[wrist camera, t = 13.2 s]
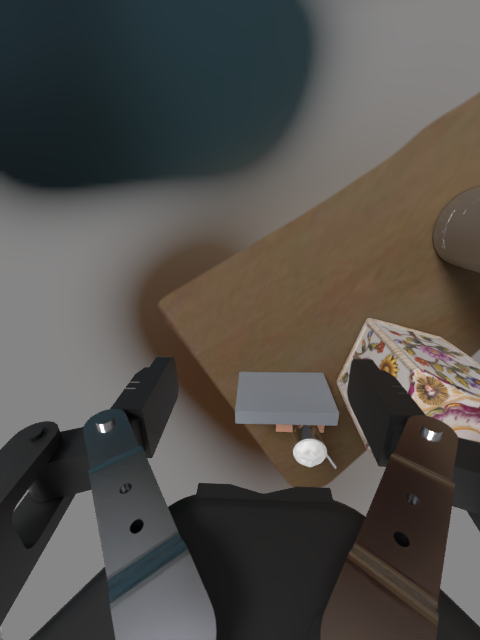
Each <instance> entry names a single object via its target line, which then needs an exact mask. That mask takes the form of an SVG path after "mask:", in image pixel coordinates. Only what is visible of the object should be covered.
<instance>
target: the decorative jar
mask: <svg viewBox="0 0 480 640" xmlns="http://www.w3.org/2000/svg"><path fill="white" fill-rule="evenodd" d="M353 359H372V360H373V361H374V363H375V364H376V365H377V367H378V368H379V369H380V370H385V371H387V372H388V373H390V374H391V375H393V376H394V377H396V379H397V380H398V381H399V382H400V384H401V385H402V387H404V389H405V390H406V391H407V393H408V394H409V395H410V396H411V397H412V399H413V400H414V401H415V402H416V403H417V405H418V406H419V407H420V408H421V410H422V411H423V412H424V413H425V415H426V416H429V417H433V418H435V419H438V420H440V421H442V422H444V423H445V424H447V425H448V426H450V427H451V428H452V429H453V430H454V431H455V433H456V434H457V436H458V437H460V438H463V439H468V440H472V441H476V442H480V364H479V363H477V362H476V361H475V360H473V359H472V358H471V357H469V356H468V355H467V354H465V353H463V352H462V351H461V350H459V349H458V348H457V347H455V346H454V345H452V344H451V343H449V342H448V341H446V340H445V339H443V338H442V337H440V336H435V335H431V334H428V333H425V332H421V331H418V330H414V329H410V328H406V327H403V326H399V325H396V324H392V323H388V322H384V321H380V320H377V319H373V318H367V319H366V321H365V323H364V325H363V327H362V329H361V331H360V333H359V336H358V338H357V340H356V342H355V343H354V346H353V348H352V350H351V352H350V354H349V356H348V358H347V360H346V362H345V364H344V366H343V368H342V370H341V372H340V374H339V376H338V378H337V385H338V388H339V390H340V393H341V395H342V397H343V400H344V402H345V404H346V406H347V409H348V411H349V413H350V415H351V417H352V419H353V421H354V424H355V426H356V428H357V430H358V432H359V434H360V436H361V439H362V441H363V443H364V445H365V447H366V449H367V450H368V451H370V452H371V453H372V451H371V448H370V446H369V444H368V442H367V440H366V438H365V436H364V433H363V431H362V429H361V427H360V425H359V423H358V421H357V418H356V416H355V414H354V412H353V410H352V408H351V406H350V403H349V401H348V395H347V387H348V381H349V374H350V367H351V362H352V360H353Z"/></svg>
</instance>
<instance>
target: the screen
mask: <svg viewBox="0 0 480 640" xmlns="http://www.w3.org/2000/svg"><path fill="white" fill-rule="evenodd" d="M235 418H236V423H242V424H284V425H326V426H337V425H338V418H339V412H338V409H337V407H336V404H335V402H334V399H333V396H332V394H331V391H330V389H329V386H328V384H327V381H326V379H325V376H324V374H323V373H296V372H239V381H238V390H237V399H236V408H235Z"/></svg>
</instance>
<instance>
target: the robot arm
mask: <svg viewBox="0 0 480 640" xmlns="http://www.w3.org/2000/svg"><path fill="white" fill-rule="evenodd" d="M433 242H434V247H435V250H436V252H437V253H438V255H439V256H440V257H441V258H442V259H443V260H444V261H445V262H448V263H450V264H452V265H455V266H459V267H462V268H465V269H469V270H472V271H475V272H478V273H480V187H476V188H472V189H470V190H467V191H465V192H463V193H462V194H460V195H458V196H457V197H455V198H454V199H453V200H452V201H451V202H450V203H449V204H448V205H447V206H446V207H445V208H444V210H443V211H442V212H441V214H440V216H439V218H438V219H437V222H436V225H435V228H434V233H433ZM347 395H348V401H349V403H350V406H351V408H352V410H353V412H354V414H355V416H356V418H357V421H358V423H359V425H360V427H361V429H362V431H363V433H364V436H365V438H366V440H367V442H368V444H369V446H370V448H371V451H372V453H373V455H374V457H375V459H376V461H377V463H378V466H384V467H386V469H385V471H384V474H383V476H382V478H381V481H380V483H379V486H378V488H377V490H376V493H375V495H374V498H373V500H372V503H371V505H370V507H369V510H368V512H367V515H366V517H365V516H364V515H362V514H360V513H359V512H358V511H356V510H355V509H353V508H351V507H349V506H347V505H345V504H343V503H340V502H338V501H335V500H333V498H332V494H331V490H330V488H316V487H294V488H289V489H285V490H280V491H275V492H271V493H266V494H262V493H258V492H254V491H251V490H248V489H245V488H241V487H237V486H234V485H231V484H210V483H199V484H198V489H197V493H196V495H192V496H189V497H186V498H183V499H181V500H179V501H177V502H175V503H174V504H172V505H170V506H169V507H168V506H167V504H166V502H165V499H164V497H163V495H162V492H161V490H160V487H159V485H158V483H157V480H156V478H155V476H154V473H153V471H152V469H151V466H150V464H149V461H148V459H147V458H152V457H153V455H154V452H155V450H156V448H157V445H158V443H159V440H160V438H161V436H162V433H163V431H164V428H165V426H166V423H167V421H168V419H169V416H170V414H171V412H172V409H173V407H174V404H175V402H176V400H177V397H178V379H177V372H176V364H175V359H174V357H156V358H155V360H154V361H153V363H152V364H151V366H150V367H146V368H143V369H142V370H141V371H139V372H138V373H137V374H135V375H134V377H133V378H132V380H131V381H130V383H129V384H128V385H127V386H126V389H124V391H123V392H122V393H121V395H120V396H119V397H118V399H117V400H116V402H115V403H114V404H113V406H112V407H111V409H108V410H104V411H101V412H99V413H97V414H95V415H94V416H92V417H91V418H90V419H89V420H88V421H87V422H86V423H85V425H84V427H82V428H77V429H72V430H67V431H62V432H60V431H59V428H58V425H57V424H55V423H54V422H50V421H49V422H48V421H47V422H39V423H36V424H33V425H31V426H28V427H26V428H24V429H23V430H21V431H20V432H18V433H17V434H16V435H15V436H13V437H12V438H11V439H10V441H8V442H7V444H6V445H5V446H4V447H3V448H2V449H1V450H0V626H1V624H2V622H3V620H4V619H5V617H6V615H7V613H8V612H9V610H10V608H11V606H12V605H13V603H14V601H15V599H16V598H17V596H18V594H19V592H20V591H21V589H22V587H23V585H24V584H25V582H26V580H27V578H28V576H29V575H30V573H31V571H32V570H33V568H34V566H35V564H36V563H37V561H38V559H39V557H40V555H41V554H42V552H43V550H44V549H45V547H46V545H47V543H48V542H49V540H50V538H51V536H52V534H53V533H54V531H55V529H56V528H57V526H58V524H59V522H60V520H61V519H62V517H63V515H64V513H65V512H66V510H67V508H68V507H69V505H70V503H71V501H72V499H73V498H74V496H75V494H76V493H80V492H84V491H87V490H92V495H93V501H94V507H95V513H96V518H97V524H98V530H99V535H100V541H101V547H102V552H103V558H104V563H105V567H104V568H103V569H102V570H101V571H100V572H99V573H98V574H97V575H96V576H95V577H94V578H92V580H90V582H88V583H87V584H86V585H85V586H84V587H83V588H82V589H81V590H80V591H79V592H78V593H77V594H76V595H75V596H74V597H73V598H72V599H71V600H70V601H69V602H68V603H67V604H66V605H65V606H64V607H63V608H61V609H60V610H59V612H57V613H56V615H54V616H53V617H52V618H51V619H50V620H49V621H48V622H47V623H46V624H45V625H44V626H43V627H42V628H41V629H40V630H39V631H38V632H37V633H36V634H34V636H32V637H31V638H30V639H29V640H480V627H479V626H478V625H477V624H476V623H475V622H474V621H473V620H472V619H471V618H470V617H469V616H468V615H467V614H466V613H465V612H464V611H463V610H462V609H461V608H460V607H459V606H458V605H456V603H455V602H454V601H453V600H452V599H451V598H449V597H448V596H447V595H446V594H445V593H444V592H443V591H442V590H441V589H440V585H441V579H442V572H443V565H444V557H445V551H446V544H447V538H448V531H449V524H450V517H451V510H452V506H454V507H458V508H460V509H464V510H467V512H468V514H469V515H470V517H471V518H472V520H473V522H474V523H475V525H476V526H477V528H478V530H479V531H480V442H476V441H472V440H468V439H463V438H460V437H458V436H457V434H456V433H455V431H454V430H453V429H452V428H451V427H450V426H448V425H447V424H445V423H444V422H442V421H440V420H438V419H435V418H433V417H429V416H426V415H425V413H424V412H423V411H422V410H421V408H420V407H419V406H418V405H417V403H416V402H415V401H414V400H413V399H412V397H411V396H410V395H409V394H408V393H407V391H406V390H405V389H404V387H402V385H401V384H400V382H399V381H398V380H397V379H396V377H394V376H393V375H391V374H390V373H388V372H387V371H385V370H380V369H379V368H378V367H377V365H376V364H375V363H374V361H373V360H372V359H353V360H352V362H351V367H350V374H349V381H348V387H347ZM27 490H29V492H28V493H27V495H26V496H25V498H24V499H23V500H22V502H21V503H20V504H19V506H18V507H17V508H16V510H15V511H14V509H15V507H16V505H17V503H18V502H19V501H20V499H21V498H22V497H23V495H24V494H25V493H26V491H27ZM0 640H3V632H2V629H1V627H0Z"/></svg>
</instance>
